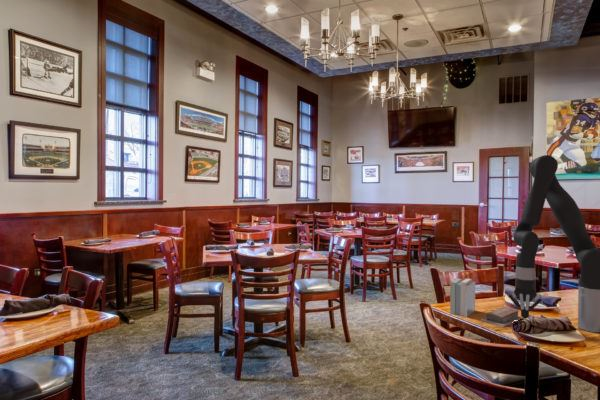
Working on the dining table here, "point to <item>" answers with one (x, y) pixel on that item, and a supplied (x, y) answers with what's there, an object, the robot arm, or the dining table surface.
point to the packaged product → (502, 316)
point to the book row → (458, 296)
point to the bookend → (469, 299)
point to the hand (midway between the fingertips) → (524, 318)
